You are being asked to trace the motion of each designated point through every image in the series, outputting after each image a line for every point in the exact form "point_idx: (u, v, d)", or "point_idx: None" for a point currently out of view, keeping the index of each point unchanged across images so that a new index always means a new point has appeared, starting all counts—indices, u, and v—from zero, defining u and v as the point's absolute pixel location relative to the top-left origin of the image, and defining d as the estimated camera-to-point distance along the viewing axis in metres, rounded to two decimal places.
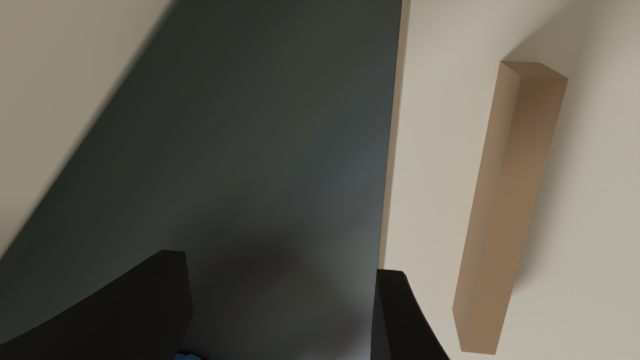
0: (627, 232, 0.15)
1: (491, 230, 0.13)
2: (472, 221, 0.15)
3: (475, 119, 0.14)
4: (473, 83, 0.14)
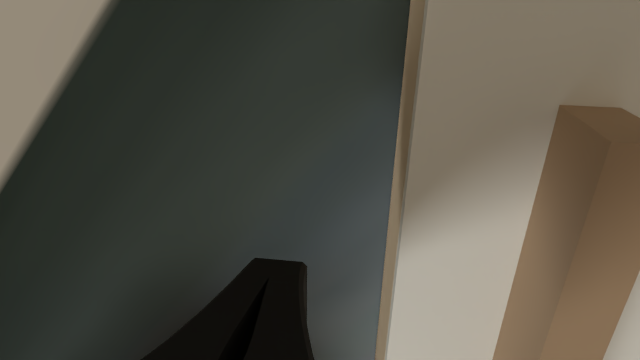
0: None
1: (546, 357, 0.09)
2: (509, 322, 0.11)
3: (518, 185, 0.10)
4: (517, 135, 0.09)
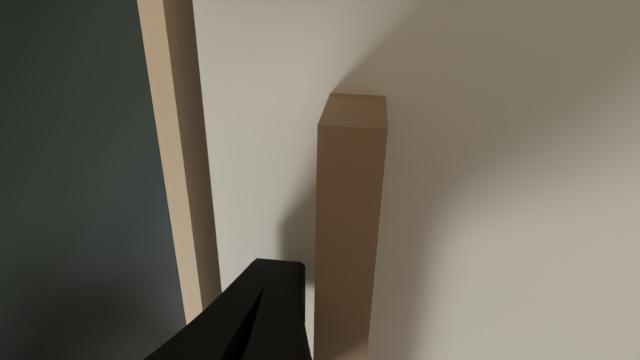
0: (531, 319, 0.11)
1: (318, 333, 0.09)
2: None
3: (310, 171, 0.10)
4: (299, 123, 0.10)
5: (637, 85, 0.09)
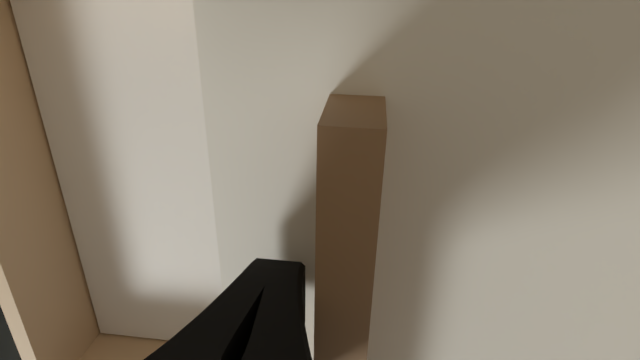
0: (530, 319, 0.11)
1: (319, 333, 0.09)
2: None
3: (310, 171, 0.10)
4: (299, 123, 0.10)
5: (636, 85, 0.09)
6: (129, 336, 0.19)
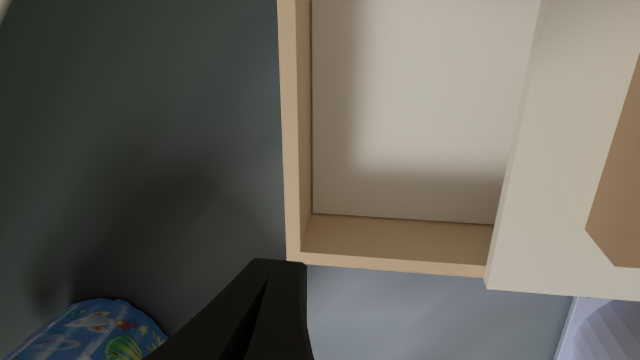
0: None
1: None
2: (629, 111, 0.13)
3: None
4: None
5: None
6: (340, 215, 0.21)
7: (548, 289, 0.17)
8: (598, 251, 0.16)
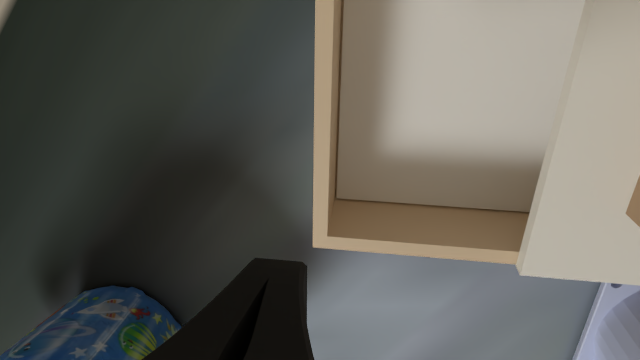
0: None
1: None
2: None
3: None
4: None
5: None
6: (364, 201, 0.21)
7: (583, 275, 0.16)
8: (638, 236, 0.15)
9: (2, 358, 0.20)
